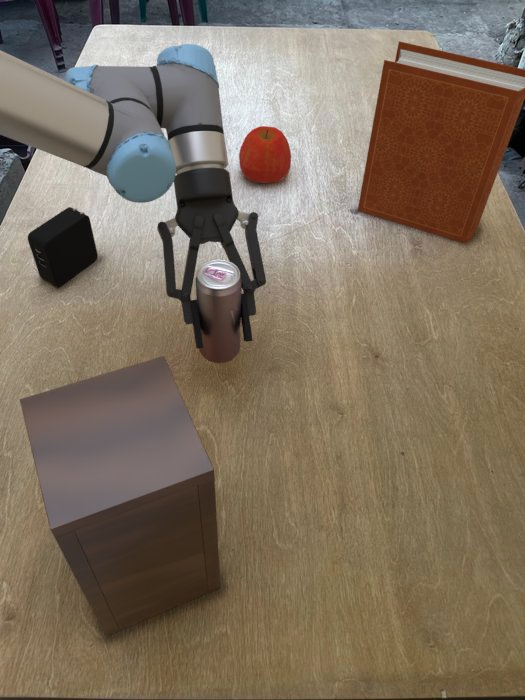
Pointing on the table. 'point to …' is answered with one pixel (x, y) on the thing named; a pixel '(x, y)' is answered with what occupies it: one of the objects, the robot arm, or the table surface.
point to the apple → (265, 155)
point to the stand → (127, 491)
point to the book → (439, 139)
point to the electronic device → (63, 246)
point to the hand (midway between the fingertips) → (224, 343)
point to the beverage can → (219, 310)
